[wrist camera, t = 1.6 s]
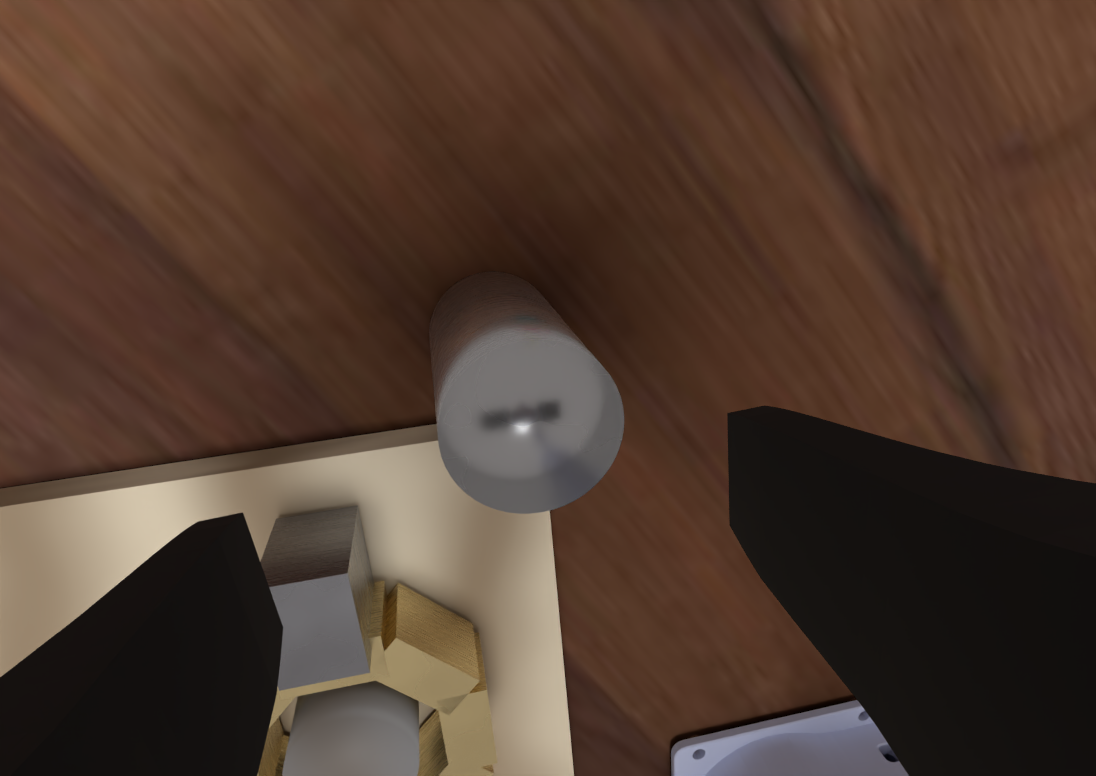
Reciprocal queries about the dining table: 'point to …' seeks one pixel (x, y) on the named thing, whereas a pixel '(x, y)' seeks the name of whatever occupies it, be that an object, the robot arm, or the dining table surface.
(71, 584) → the board
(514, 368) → the pin
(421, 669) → the ring nut
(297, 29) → the dining table surface
